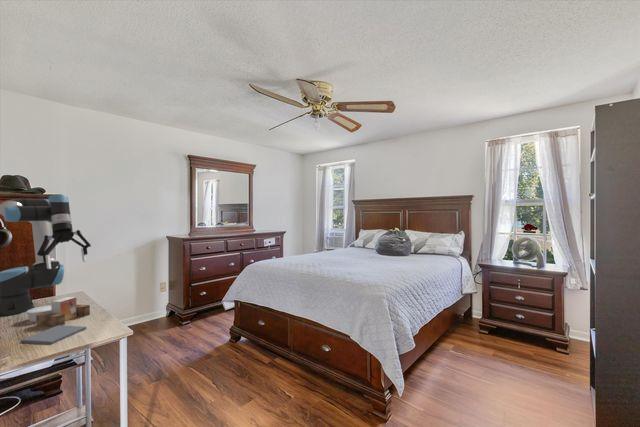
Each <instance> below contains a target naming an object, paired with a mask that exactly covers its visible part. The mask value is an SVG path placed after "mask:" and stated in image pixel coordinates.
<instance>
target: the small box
mask: <svg viewBox="0 0 640 427" xmlns="http://www.w3.org/2000/svg"><path fill="white" fill-rule="evenodd" d="M50 304H51V309H52V314H65V322H68V321H71V320H73V319H74V320H75V319H76V318H77V317H78V316H77V305H78V304H77V297H76V296H66V297H63V298H59V299H56V300H52V301H51V302H50Z"/></svg>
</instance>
